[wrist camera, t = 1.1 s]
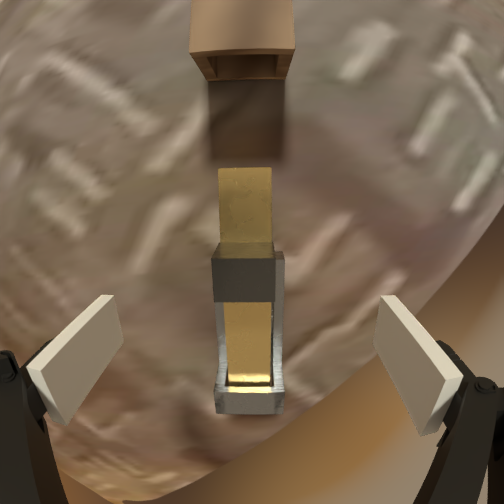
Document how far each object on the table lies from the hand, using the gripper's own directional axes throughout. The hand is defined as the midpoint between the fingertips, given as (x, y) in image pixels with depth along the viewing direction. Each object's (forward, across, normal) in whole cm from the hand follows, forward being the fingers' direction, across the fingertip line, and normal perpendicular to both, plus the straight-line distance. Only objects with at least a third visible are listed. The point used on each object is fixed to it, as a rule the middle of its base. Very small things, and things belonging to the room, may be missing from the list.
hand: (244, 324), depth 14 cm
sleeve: (+16, 0, -8) cm, 18 cm away
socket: (+16, 0, +18) cm, 24 cm away
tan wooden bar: (+15, 0, -4) cm, 15 cm away
